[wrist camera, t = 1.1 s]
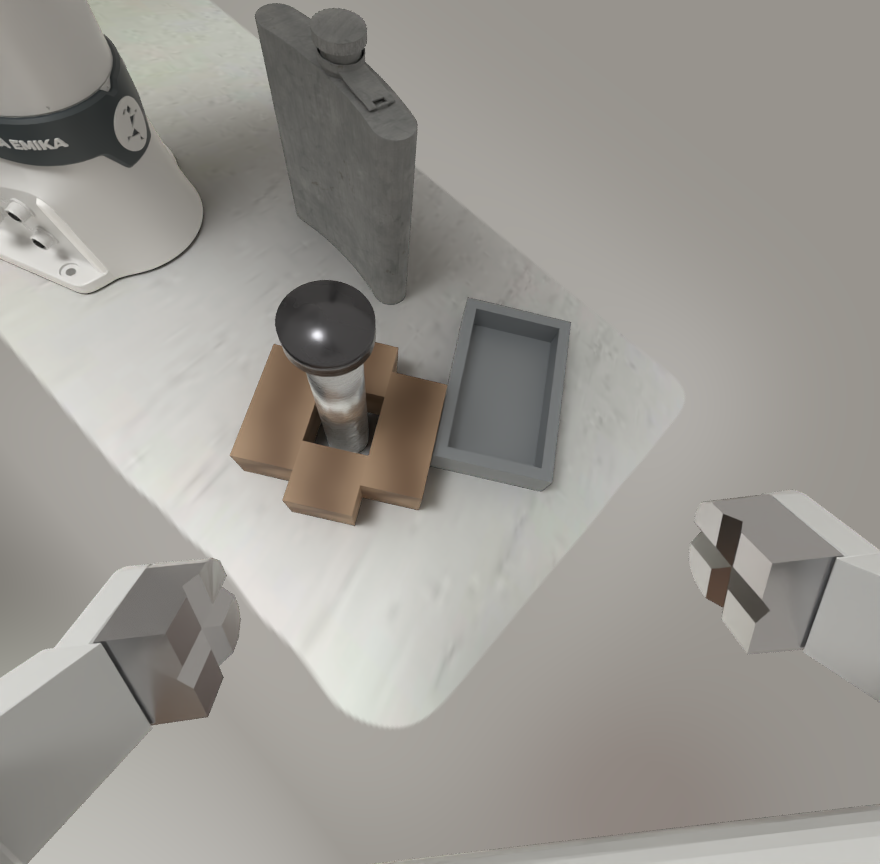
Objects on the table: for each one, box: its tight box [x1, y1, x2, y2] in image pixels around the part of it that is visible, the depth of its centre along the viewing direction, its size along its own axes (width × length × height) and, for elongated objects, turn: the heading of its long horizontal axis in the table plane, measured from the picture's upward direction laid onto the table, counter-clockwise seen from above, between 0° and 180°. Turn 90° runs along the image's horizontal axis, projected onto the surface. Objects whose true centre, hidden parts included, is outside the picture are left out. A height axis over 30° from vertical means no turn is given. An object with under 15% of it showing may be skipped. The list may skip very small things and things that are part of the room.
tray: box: [430, 297, 571, 492], centre depth 43 cm, size 10×16×3 cm, turn 168°
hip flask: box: [255, 3, 417, 305], centre depth 40 cm, size 16×4×20 cm, turn 42°
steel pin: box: [275, 280, 376, 453], centre depth 33 cm, size 5×5×18 cm
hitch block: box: [230, 342, 447, 526], centre depth 40 cm, size 15×15×4 cm
